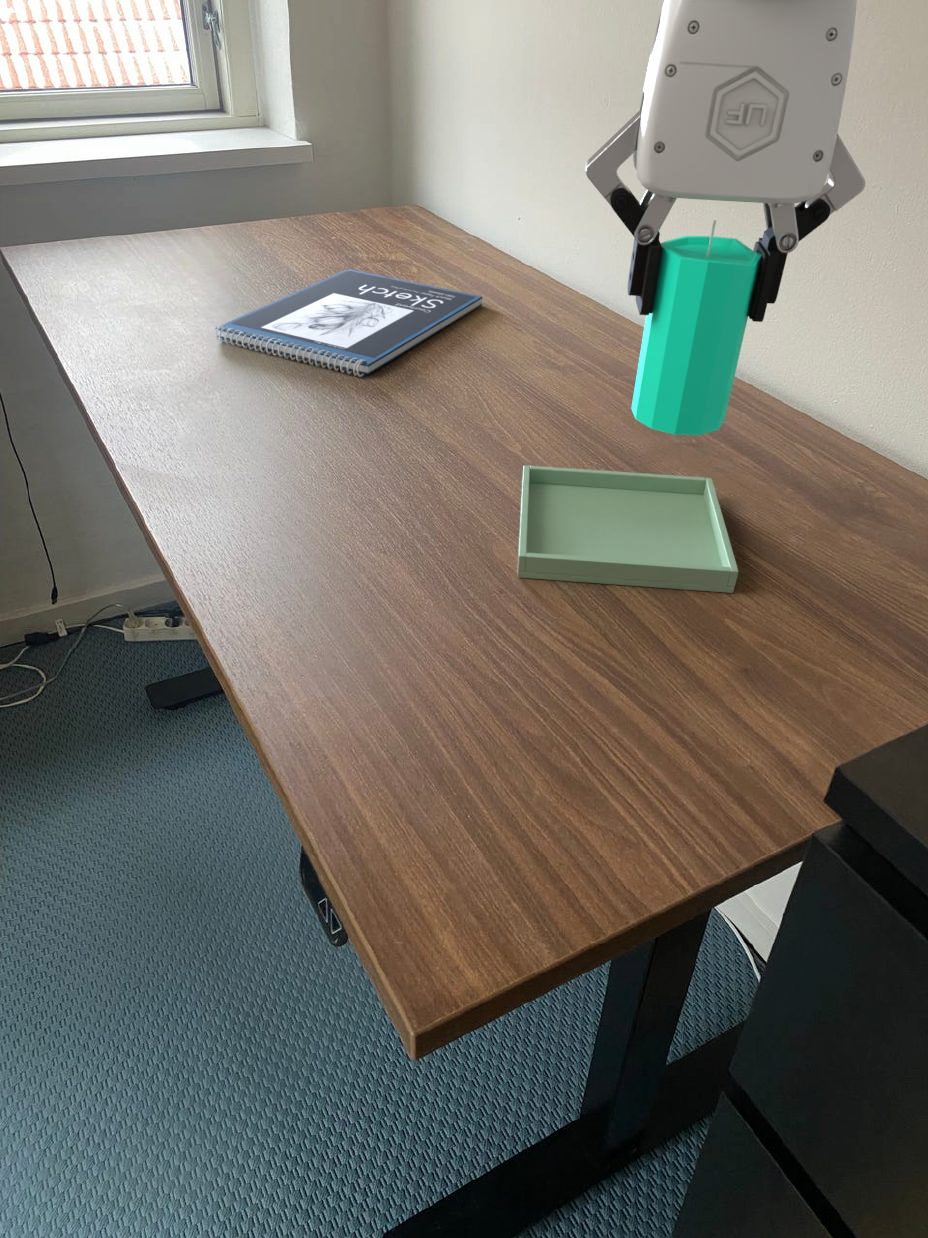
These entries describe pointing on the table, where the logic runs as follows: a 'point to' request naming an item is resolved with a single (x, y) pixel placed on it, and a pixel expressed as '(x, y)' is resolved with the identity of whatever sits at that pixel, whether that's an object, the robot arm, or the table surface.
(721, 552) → the tray
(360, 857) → the table surface
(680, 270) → the candle
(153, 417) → the table surface
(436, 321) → the sketchbook
